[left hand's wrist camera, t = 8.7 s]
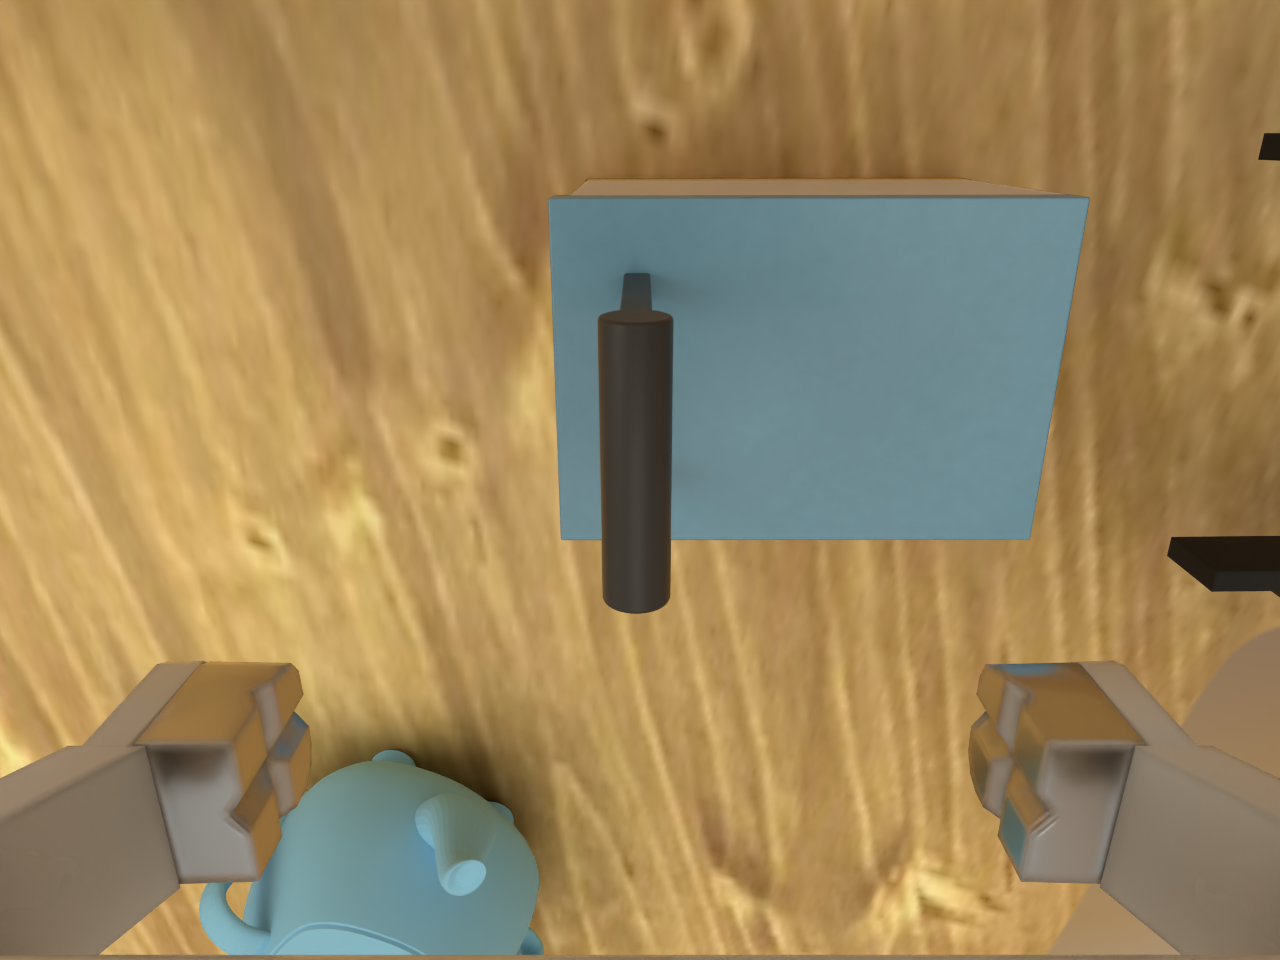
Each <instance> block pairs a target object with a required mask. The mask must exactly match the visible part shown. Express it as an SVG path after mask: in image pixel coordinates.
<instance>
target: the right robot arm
mask: <svg viewBox="0 0 1280 960" xmlns="http://www.w3.org/2000/svg"><path fill="white" fill-rule="evenodd" d="M1258 160H1279V161H1280V133H1264V137H1263V141H1262V146H1261V150H1260V154H1259V159H1258ZM1167 556H1168V557H1169V558H1171V559H1172V560H1173V561H1174V562H1176V563H1177V564H1178V565H1179V566H1181V567H1182V568H1183V569H1184V570H1186V571H1187V572H1188V573H1189V574H1191V575H1192V576H1193V577H1194V578H1196V579H1197V580H1198V581H1199V582H1200V583H1202V584H1203V585H1204V586H1205V587H1207V588H1208V589H1209V590H1210V591H1212V592H1213V591H1272V592H1273V593H1275V594H1276V595H1278V596H1279V597H1280V536H1226V537H1171V541H1170V546H1169V550H1168V555H1167Z"/></svg>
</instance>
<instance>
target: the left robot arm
mask: <svg viewBox="0 0 1280 960" xmlns="http://www.w3.org/2000/svg"><path fill="white" fill-rule="evenodd" d="M302 696H303V690H302V685H301V680H300V675H299V671H298V670H297V669H296V668H295V667H294V666H293V665H292V664H291V663H259V662H204V661H168V662H164V663H160V664H157V665H156V666H155V667H154V668H153V669H152V670H151V671H150V672H149V673H148V674H147V675H146V677H145V678H144V679H143V680H142V681H141V682H140V683H139V684H138V685H137V686H136V687H135V689H134V690H133V691H132V692H131V693H130V694H129V695H128V696H127V697H126V698H125V699H124V701H123V702H122V703H121V704H120V705H119V706H118V707H117V708H116V709H115V710H114V711H113V713H112V714H111V715H110V716H109V717H108V718H107V719H106V720H105V721H104V722H103V723H102V725H101V726H100V727H99V728H98V729H97V730H96V731H95V732H94V733H93V734H92V736H91V737H90V738H89V739H88V740H87V741H86V742H85V743H84V744H83V745H82V746H67V747H65V748H63V749H61V750H58V751H56V752H54V753H52V754H50V755H48V756H46V757H44V758H42V759H40V760H38V761H36V762H33V763H31V764H29V765H27V766H25V767H23V768H21V769H19V770H17V771H15V772H13V773H11V774H8V775H6V776H4V777H2V778H0V960H1280V778H1278V777H1275V776H1273V775H1271V774H1269V773H1267V772H1265V771H1263V770H1261V769H1259V768H1257V767H1255V766H1253V765H1251V764H1249V763H1246V762H1244V761H1242V760H1240V759H1238V758H1236V757H1234V756H1232V755H1230V754H1228V753H1226V752H1224V751H1222V750H1219V749H1217V748H1215V747H1213V746H1198V745H1197V744H1196V743H1195V742H1194V741H1193V740H1192V739H1191V738H1190V737H1189V736H1188V734H1187V733H1186V732H1185V731H1184V730H1183V729H1182V728H1181V727H1180V726H1179V725H1178V723H1177V722H1176V721H1175V720H1174V719H1173V718H1172V717H1171V716H1170V715H1169V714H1168V713H1167V711H1166V710H1165V709H1164V708H1163V707H1162V706H1161V705H1160V704H1159V703H1158V702H1157V701H1156V699H1155V698H1154V697H1153V696H1152V695H1151V694H1150V693H1149V692H1148V691H1147V690H1146V688H1145V687H1144V686H1143V685H1142V684H1141V683H1140V682H1139V681H1138V680H1137V679H1136V678H1135V676H1134V675H1133V674H1132V673H1131V672H1130V671H1129V670H1128V669H1127V668H1126V667H1125V666H1124V665H1122V664H1120V663H1118V662H1115V661H1090V662H1071V663H1033V664H986V665H985V667H984V669H983V671H982V673H981V675H980V678H979V684H978V689H977V696H978V698H979V699H980V701H981V703H982V705H983V706H984V708H985V710H986V712H985V713H984V714H983V715H982V716H981V717H980V718H979V719H978V720H977V721H976V722H975V723H974V724H973V725H972V726H971V732H970V740H969V748H968V753H969V765H970V774H971V778H972V781H973V785H974V788H975V791H976V793H977V796H978V798H979V800H980V802H981V804H982V806H983V807H984V808H985V809H987V810H988V811H990V812H991V813H993V814H994V815H995V816H997V817H998V818H1000V819H1001V820H1000V826H999V831H998V837H999V839H1000V841H1001V843H1002V845H1003V847H1004V849H1005V851H1006V853H1007V855H1008V857H1009V859H1010V861H1011V863H1012V865H1013V866H1014V868H1015V870H1016V872H1017V874H1018V876H1019V878H1020V880H1021V882H1052V883H1088V884H1100V888H1101V889H1102V890H1103V891H1105V892H1106V893H1107V894H1108V895H1110V896H1111V897H1112V898H1113V899H1114V900H1116V901H1117V902H1118V903H1119V904H1121V905H1122V906H1123V907H1124V908H1126V909H1127V910H1128V911H1129V912H1130V913H1132V914H1133V915H1134V916H1135V917H1136V918H1138V919H1139V920H1140V921H1141V922H1142V923H1144V924H1145V925H1146V926H1147V927H1149V928H1150V929H1151V930H1152V931H1153V932H1155V933H1156V934H1157V935H1158V936H1160V937H1161V938H1162V939H1163V940H1165V941H1166V942H1167V943H1168V944H1169V945H1171V946H1172V947H1173V948H1174V949H1175V950H1177V951H1178V952H1179V953H1180V954H1181V955H99V954H100V953H101V952H102V951H104V950H105V949H106V948H107V947H109V946H110V945H111V944H112V943H113V942H115V941H116V940H117V939H118V938H120V937H121V936H122V935H123V934H124V933H126V932H127V931H128V930H129V929H131V928H132V927H133V926H134V925H135V924H137V923H138V922H139V921H140V920H142V919H143V918H144V917H145V916H146V915H148V914H149V913H150V912H151V911H153V910H154V909H155V908H156V907H157V906H159V905H160V904H161V903H162V902H163V901H165V900H166V899H167V898H168V897H170V896H171V895H172V894H173V893H174V892H176V891H177V890H178V889H179V888H180V885H179V884H192V883H227V882H259V880H260V878H261V876H262V874H263V872H264V871H265V869H266V867H267V865H268V863H269V861H270V859H271V857H272V855H273V853H274V851H275V849H276V847H277V845H278V843H279V841H280V839H281V837H282V831H281V826H280V820H279V819H280V818H282V817H283V816H285V815H286V814H287V813H289V812H290V811H292V810H293V809H295V808H296V807H297V806H298V804H299V802H300V800H301V797H302V795H303V793H304V791H305V789H306V785H307V781H308V776H309V772H310V767H311V738H310V731H309V726H308V725H307V724H306V723H305V722H304V721H303V720H302V719H301V718H300V717H299V716H298V715H297V714H296V713H295V712H294V710H295V708H296V706H297V705H298V703H299V701H300V699H301V698H302Z"/></svg>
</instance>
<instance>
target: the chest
mask: <svg viewBox="0 0 1280 960" xmlns="http://www.w3.org/2000/svg"><path fill="white" fill-rule="evenodd" d="M1015 194H1062V193H1055V192H1048V191H1041V190H1035V189H1028V188H1021V187H1014V186H1007V185H1001V184H994V183H987V182H980V181H974V180H971V179H964V178H773V179H586V180H585V183H584V184H583V185H582V186H580V187H579V188H578V189H577V190H576V191H575V192H574V193H573V194H572V195H1015Z"/></svg>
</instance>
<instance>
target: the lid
mask: <svg viewBox="0 0 1280 960" xmlns="http://www.w3.org/2000/svg"><path fill="white" fill-rule="evenodd" d="M1089 200H1090V199H1089V198H1088V197H1083V196H1076V195H1069V194H1015V195H554V196H552V197H550V198H549V199H548V210H549V236H550V263H551V289H552V315H553V342H554V368H555V394H556V421H557V447H558V473H559V500H560V526H561V539H562V540H602V581H603V599H604V601H605V603H606V604H607V605H608V606H609V607H611V608H613V609H615V610H617V611H620V612H625V613H633V614H639V613H648V612H652V611H655V610H658V609H660V608H662V607H663V606H665V605H666V604H667V602H668V601H669V598H670V573H671V540H1029V539H1030V535H1031V529H1032V523H1033V518H1034V512H1035V506H1036V501H1037V495H1038V489H1039V484H1040V478H1041V472H1042V467H1043V461H1044V455H1045V450H1046V444H1047V438H1048V433H1049V427H1050V421H1051V416H1052V410H1053V404H1054V399H1055V393H1056V387H1057V382H1058V376H1059V370H1060V365H1061V359H1062V353H1063V348H1064V342H1065V336H1066V331H1067V325H1068V319H1069V314H1070V308H1071V302H1072V297H1073V291H1074V285H1075V280H1076V274H1077V268H1078V263H1079V257H1080V251H1081V246H1082V240H1083V234H1084V229H1085V223H1086V217H1087V211H1088V206H1089Z"/></svg>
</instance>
